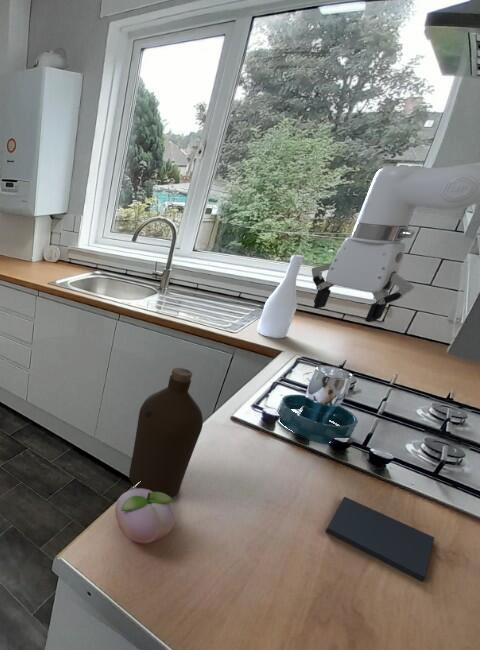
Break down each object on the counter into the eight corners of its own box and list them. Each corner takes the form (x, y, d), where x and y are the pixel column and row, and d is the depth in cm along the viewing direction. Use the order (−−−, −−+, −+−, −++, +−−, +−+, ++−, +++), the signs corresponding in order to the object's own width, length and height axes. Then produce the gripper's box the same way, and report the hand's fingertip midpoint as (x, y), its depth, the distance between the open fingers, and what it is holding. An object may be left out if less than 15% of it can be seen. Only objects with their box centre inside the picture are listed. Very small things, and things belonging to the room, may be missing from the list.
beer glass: (286, 417, 103) (308, 364, 97) (315, 418, 103) (338, 365, 97) (306, 433, 97) (330, 378, 91) (336, 435, 97) (362, 379, 90)
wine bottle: (250, 330, 160) (275, 253, 147) (269, 328, 162) (295, 252, 149) (272, 339, 151) (301, 258, 139) (292, 337, 154) (321, 257, 141)
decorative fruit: (140, 511, 75) (150, 468, 71) (176, 546, 68) (190, 501, 64) (98, 526, 71) (107, 482, 67) (132, 565, 65) (144, 518, 60)
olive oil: (170, 510, 75) (205, 393, 65) (116, 481, 82) (139, 370, 71) (190, 482, 82) (224, 371, 71) (139, 457, 89) (163, 353, 78)
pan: (355, 430, 99) (363, 412, 97) (340, 453, 91) (349, 435, 89) (285, 405, 109) (292, 388, 107) (266, 424, 101) (273, 406, 99)
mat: (431, 541, 69) (434, 537, 69) (422, 581, 63) (425, 577, 62) (342, 500, 78) (344, 496, 78) (325, 531, 71) (327, 527, 71)
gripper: (445, 239, 76) (403, 324, 83) (338, 227, 90) (310, 301, 98) (425, 241, 73) (383, 329, 80) (318, 228, 88) (291, 304, 95)
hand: (343, 313), depth 89 cm, fingers open, 9 cm apart
